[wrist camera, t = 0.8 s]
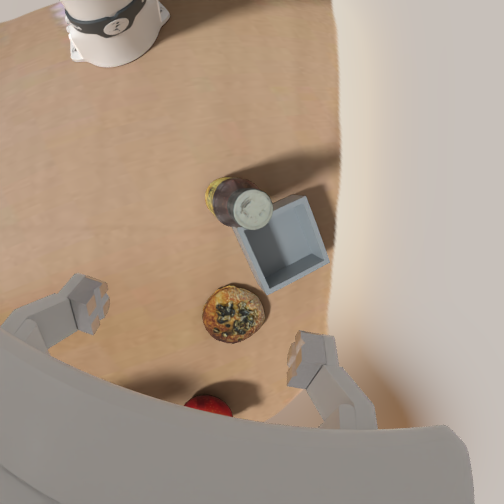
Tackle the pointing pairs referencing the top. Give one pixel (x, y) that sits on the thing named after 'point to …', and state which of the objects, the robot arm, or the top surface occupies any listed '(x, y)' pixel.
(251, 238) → the bin
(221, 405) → the fruit
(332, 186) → the top surface
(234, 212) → the sauce bottle
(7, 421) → the robot arm
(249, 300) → the bread roll
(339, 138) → the top surface
